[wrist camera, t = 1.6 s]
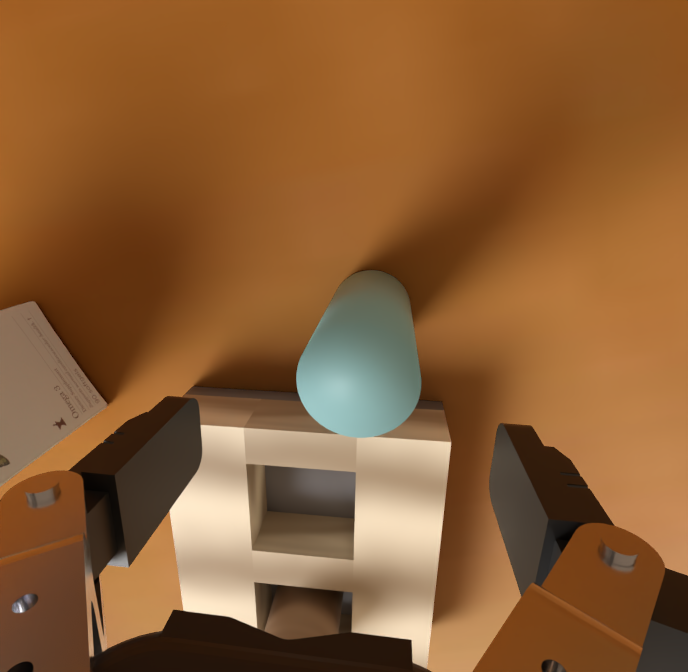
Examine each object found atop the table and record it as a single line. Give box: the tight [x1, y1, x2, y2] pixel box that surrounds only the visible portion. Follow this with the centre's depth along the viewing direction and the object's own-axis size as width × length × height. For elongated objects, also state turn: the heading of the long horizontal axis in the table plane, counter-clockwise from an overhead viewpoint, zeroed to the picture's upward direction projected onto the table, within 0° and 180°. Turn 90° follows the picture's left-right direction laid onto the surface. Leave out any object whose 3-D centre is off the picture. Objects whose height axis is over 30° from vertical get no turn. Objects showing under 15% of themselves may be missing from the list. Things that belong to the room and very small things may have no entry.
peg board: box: [170, 386, 451, 669], centre depth 23 cm, size 17×14×8 cm
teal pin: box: [296, 270, 421, 438], centre depth 18 cm, size 4×4×9 cm
